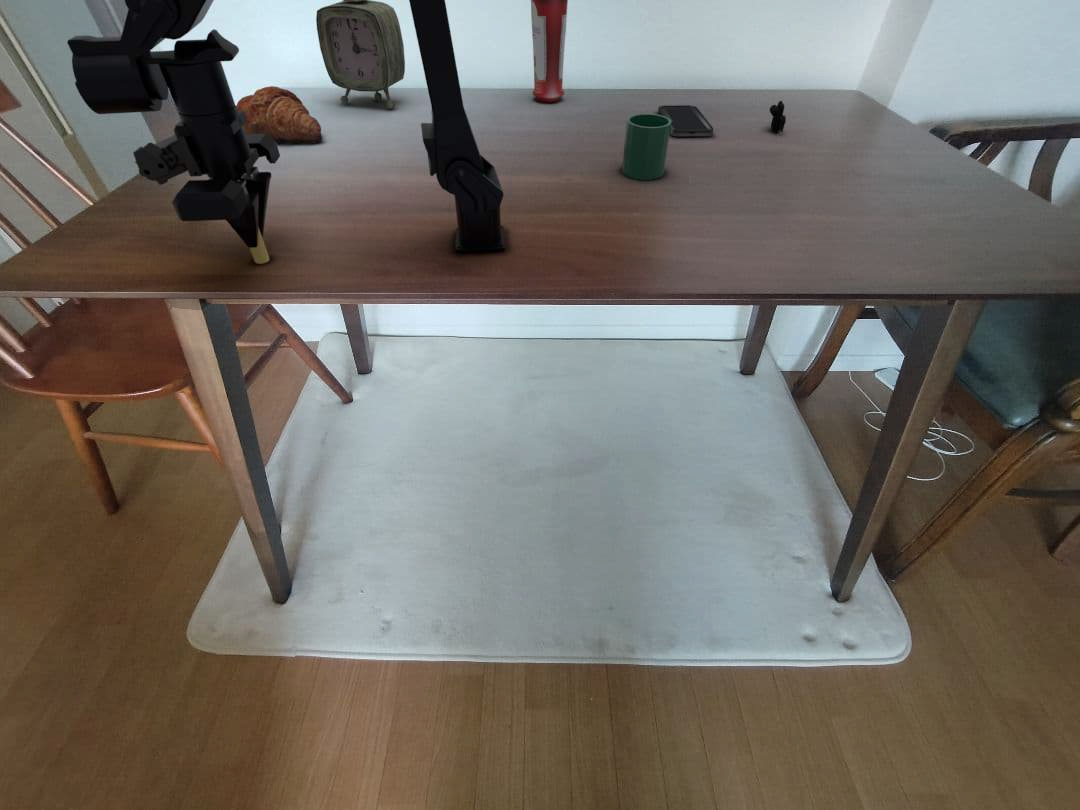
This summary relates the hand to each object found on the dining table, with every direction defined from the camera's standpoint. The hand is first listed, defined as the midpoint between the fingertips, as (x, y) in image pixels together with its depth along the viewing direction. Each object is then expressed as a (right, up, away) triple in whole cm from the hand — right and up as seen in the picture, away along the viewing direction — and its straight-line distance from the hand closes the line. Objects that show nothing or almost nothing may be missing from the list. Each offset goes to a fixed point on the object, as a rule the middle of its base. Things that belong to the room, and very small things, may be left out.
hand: (255, 242), depth 72 cm
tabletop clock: (+1, +44, +50) cm, 66 cm away
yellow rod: (0, -2, +2) cm, 2 cm away
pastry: (-14, +30, +36) cm, 49 cm away
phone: (+64, +35, +41) cm, 83 cm away
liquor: (+38, +46, +52) cm, 79 cm away
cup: (+53, +18, +23) cm, 60 cm away
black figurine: (+80, +32, +38) cm, 94 cm away
